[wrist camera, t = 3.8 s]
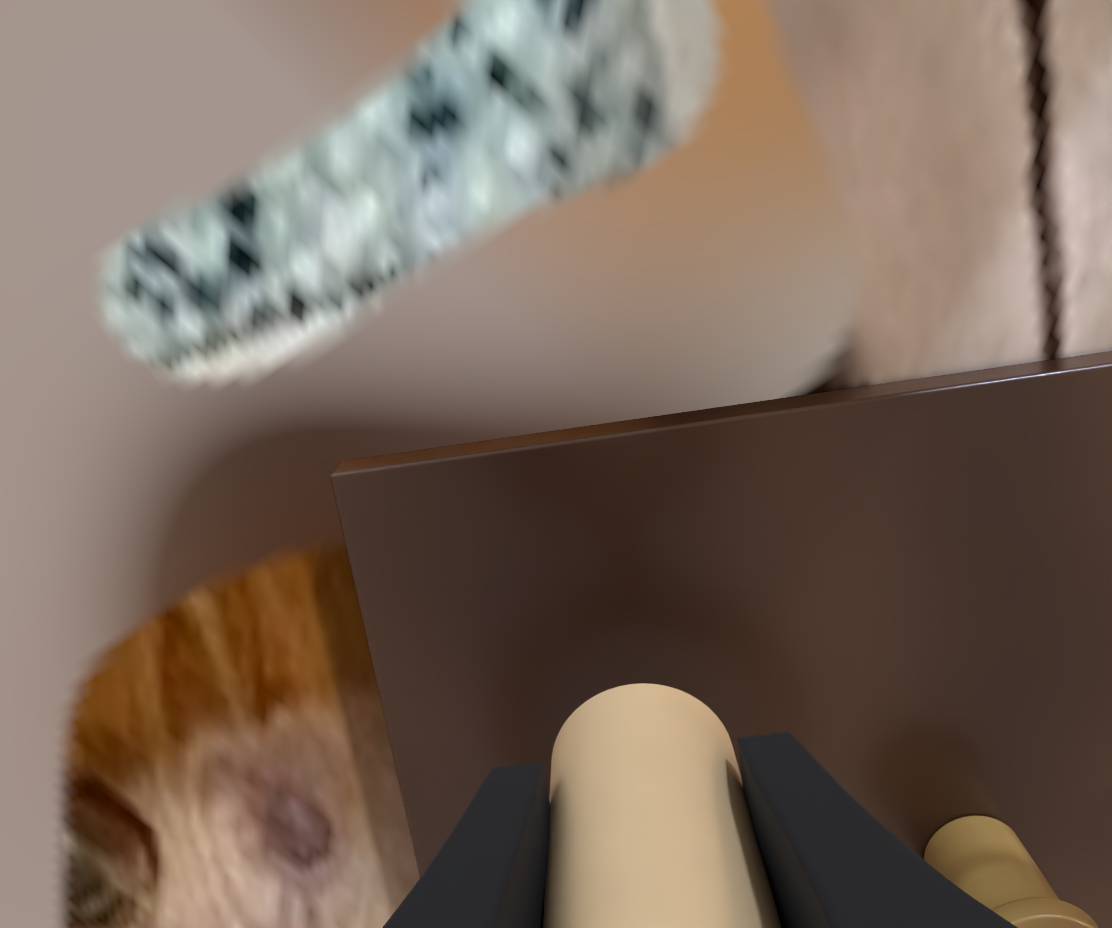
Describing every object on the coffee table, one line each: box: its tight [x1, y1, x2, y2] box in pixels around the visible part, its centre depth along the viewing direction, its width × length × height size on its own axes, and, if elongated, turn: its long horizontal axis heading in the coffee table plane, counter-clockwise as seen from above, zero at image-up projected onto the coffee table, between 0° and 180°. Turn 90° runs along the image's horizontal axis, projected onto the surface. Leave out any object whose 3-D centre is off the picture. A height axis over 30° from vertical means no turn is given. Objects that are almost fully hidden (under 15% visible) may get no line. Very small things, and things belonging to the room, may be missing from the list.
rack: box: [330, 351, 1112, 928], centre depth 19 cm, size 23×15×4 cm, turn 99°
